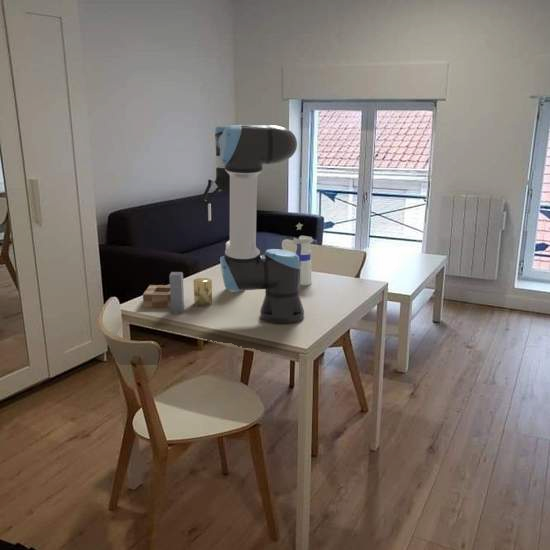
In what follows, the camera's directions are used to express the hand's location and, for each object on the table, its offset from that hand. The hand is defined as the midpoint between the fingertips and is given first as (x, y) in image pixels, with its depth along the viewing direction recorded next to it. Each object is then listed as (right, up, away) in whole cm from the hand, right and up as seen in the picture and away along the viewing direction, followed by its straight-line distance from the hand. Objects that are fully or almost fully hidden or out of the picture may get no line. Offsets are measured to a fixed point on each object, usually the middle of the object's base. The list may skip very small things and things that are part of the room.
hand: (226, 220), depth 227 cm
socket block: (-22, -32, -17) cm, 42 cm away
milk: (+4, -28, 0) cm, 28 cm away
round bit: (-7, -33, -17) cm, 38 cm away
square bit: (-15, -35, -26) cm, 46 cm away
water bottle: (+31, -25, +10) cm, 41 cm away
